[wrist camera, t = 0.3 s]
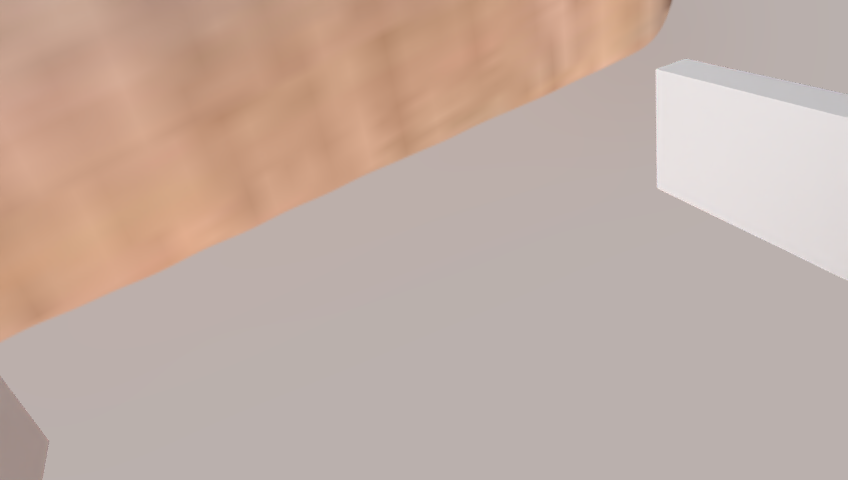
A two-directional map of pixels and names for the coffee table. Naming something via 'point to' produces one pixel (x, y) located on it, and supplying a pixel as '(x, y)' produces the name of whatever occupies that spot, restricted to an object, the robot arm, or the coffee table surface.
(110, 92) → the coffee table surface
